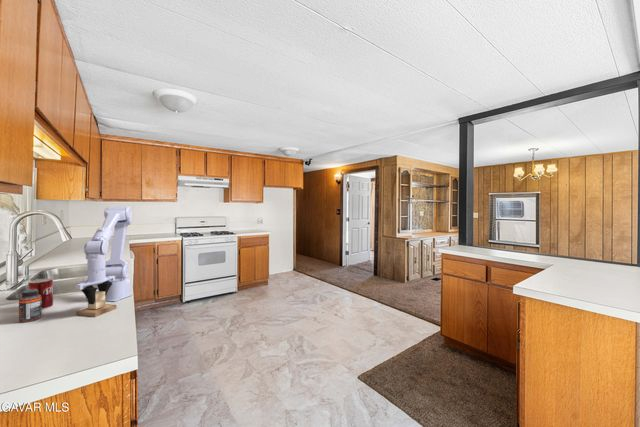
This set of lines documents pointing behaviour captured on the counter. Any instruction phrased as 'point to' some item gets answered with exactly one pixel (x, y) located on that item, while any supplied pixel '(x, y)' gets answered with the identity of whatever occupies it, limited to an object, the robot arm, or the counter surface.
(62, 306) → the counter surface
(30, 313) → the supplement bottle
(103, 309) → the base
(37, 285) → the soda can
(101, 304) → the beech block
